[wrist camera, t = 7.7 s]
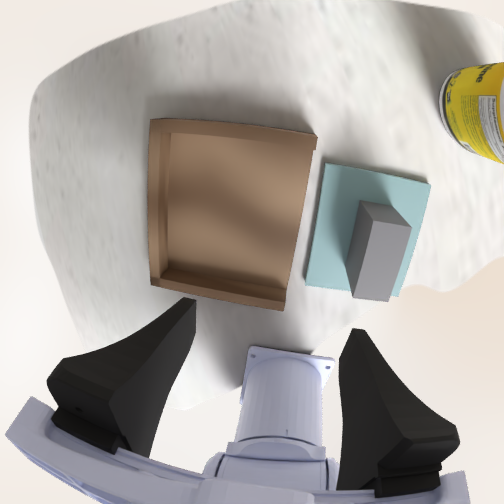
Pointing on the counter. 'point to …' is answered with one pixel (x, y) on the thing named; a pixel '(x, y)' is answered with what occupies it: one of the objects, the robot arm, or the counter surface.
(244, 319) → the counter surface
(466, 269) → the counter surface
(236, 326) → the counter surface
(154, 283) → the walnut box
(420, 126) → the counter surface
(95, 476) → the robot arm
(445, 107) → the pill bottle
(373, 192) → the cover plate
